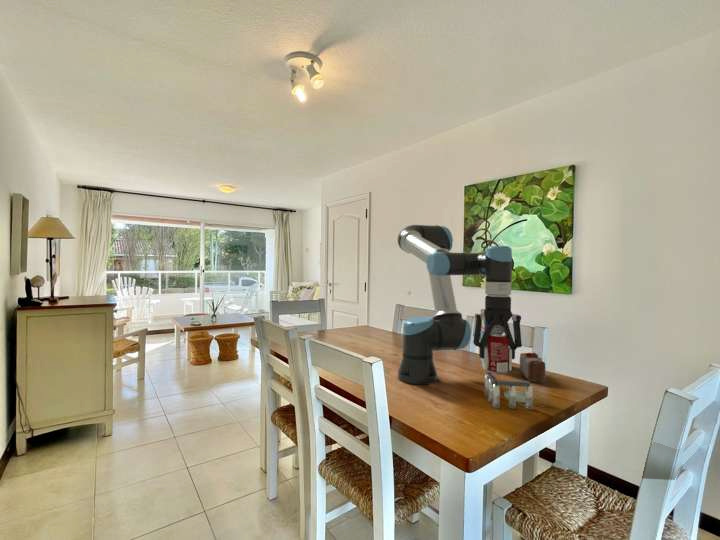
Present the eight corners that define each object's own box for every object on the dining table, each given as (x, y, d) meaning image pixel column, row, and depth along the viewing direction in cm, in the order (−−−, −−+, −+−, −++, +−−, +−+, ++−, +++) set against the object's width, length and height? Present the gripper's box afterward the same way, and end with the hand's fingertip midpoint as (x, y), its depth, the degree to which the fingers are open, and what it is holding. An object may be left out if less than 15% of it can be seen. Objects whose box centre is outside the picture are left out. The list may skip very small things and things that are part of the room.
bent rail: (493, 408, 111) (494, 381, 111) (483, 394, 122) (484, 371, 122) (533, 409, 110) (533, 383, 110) (519, 396, 121) (520, 372, 121)
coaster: (509, 402, 115) (509, 400, 115) (500, 392, 124) (500, 390, 124) (537, 403, 115) (538, 401, 115) (526, 393, 124) (526, 390, 124)
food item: (517, 371, 149) (517, 348, 149) (537, 372, 148) (538, 349, 147) (526, 382, 135) (527, 356, 135) (549, 383, 134) (549, 357, 134)
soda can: (511, 375, 108) (512, 336, 108) (489, 375, 108) (490, 336, 108) (503, 368, 115) (504, 331, 115) (482, 368, 115) (482, 331, 115)
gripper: (468, 296, 108) (467, 371, 108) (535, 297, 107) (534, 373, 107) (463, 294, 115) (462, 364, 116) (525, 294, 114) (524, 366, 115)
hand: (496, 368), depth 112 cm, fingers closed on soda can, 7 cm apart
